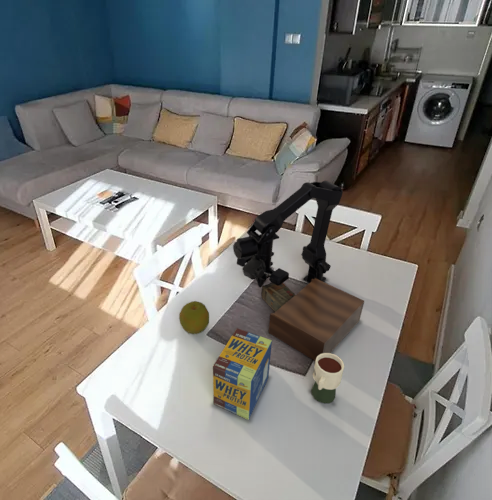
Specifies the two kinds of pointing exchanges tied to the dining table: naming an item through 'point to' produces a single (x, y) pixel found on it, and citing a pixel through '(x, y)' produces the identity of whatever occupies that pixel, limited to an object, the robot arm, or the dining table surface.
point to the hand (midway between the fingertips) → (260, 287)
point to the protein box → (241, 372)
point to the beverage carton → (276, 295)
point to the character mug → (327, 377)
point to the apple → (194, 317)
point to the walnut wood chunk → (316, 318)
